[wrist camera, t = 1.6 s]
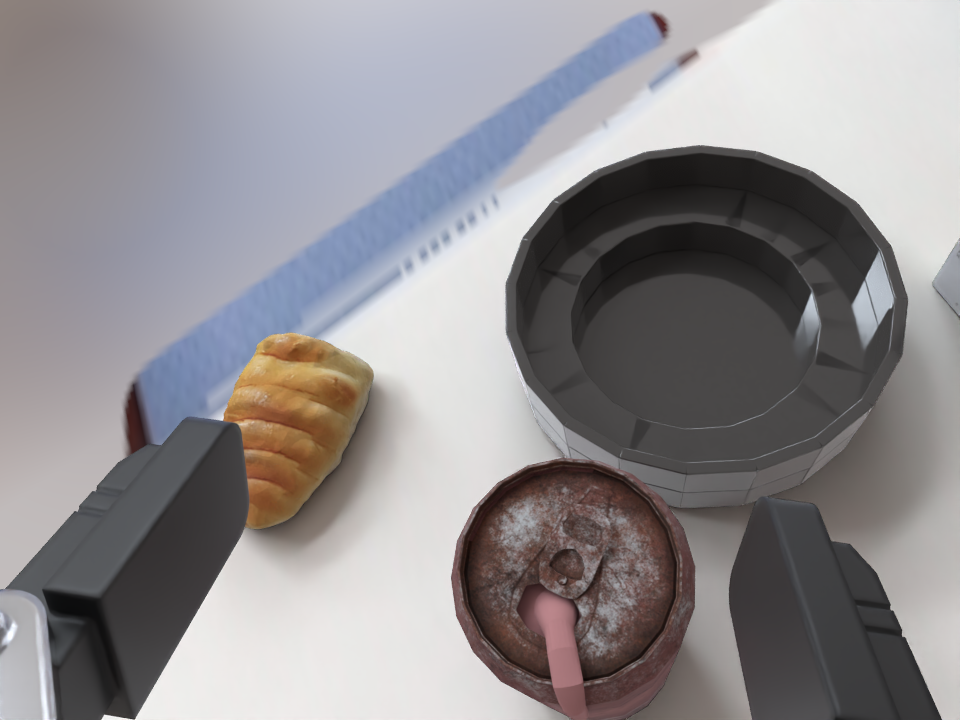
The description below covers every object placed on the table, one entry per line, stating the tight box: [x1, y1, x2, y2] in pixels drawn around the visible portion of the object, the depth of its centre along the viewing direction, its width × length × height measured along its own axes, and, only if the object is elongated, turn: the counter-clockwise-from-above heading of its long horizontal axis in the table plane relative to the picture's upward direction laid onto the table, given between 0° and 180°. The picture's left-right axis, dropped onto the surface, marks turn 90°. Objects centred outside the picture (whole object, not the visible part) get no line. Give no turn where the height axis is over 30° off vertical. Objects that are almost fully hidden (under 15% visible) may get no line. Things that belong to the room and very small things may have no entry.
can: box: [451, 458, 695, 720], centre depth 24 cm, size 6×6×14 cm
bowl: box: [506, 145, 908, 508], centre depth 33 cm, size 16×16×5 cm
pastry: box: [223, 333, 374, 529], centre depth 35 cm, size 9×7×4 cm
